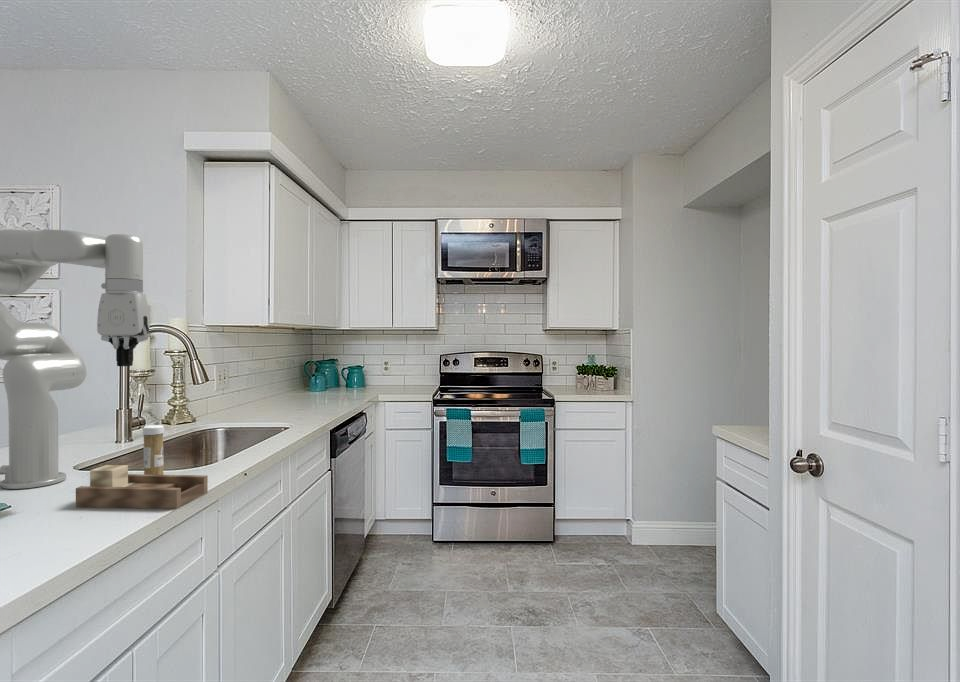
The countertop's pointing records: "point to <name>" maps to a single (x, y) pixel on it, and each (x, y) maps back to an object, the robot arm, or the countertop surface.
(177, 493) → the brown wooden tray
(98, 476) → the beech block
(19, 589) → the countertop surface
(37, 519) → the countertop surface
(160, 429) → the sprinkles bottle
